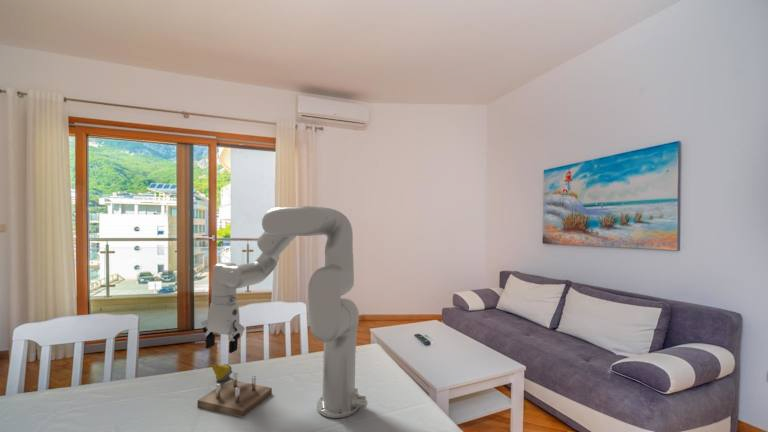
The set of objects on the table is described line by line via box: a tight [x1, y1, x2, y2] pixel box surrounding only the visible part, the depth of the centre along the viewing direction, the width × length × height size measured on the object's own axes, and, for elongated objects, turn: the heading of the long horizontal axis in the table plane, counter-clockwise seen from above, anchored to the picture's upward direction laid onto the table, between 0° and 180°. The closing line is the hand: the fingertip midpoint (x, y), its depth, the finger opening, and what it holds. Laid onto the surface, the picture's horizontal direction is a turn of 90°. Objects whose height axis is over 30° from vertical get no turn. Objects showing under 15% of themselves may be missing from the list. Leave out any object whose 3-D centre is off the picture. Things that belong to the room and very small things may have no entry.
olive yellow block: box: [210, 364, 233, 382], centre depth 109 cm, size 5×5×10 cm
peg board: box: [196, 372, 273, 418], centre depth 98 cm, size 16×13×6 cm
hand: (221, 349), depth 110 cm, fingers open, 9 cm apart
